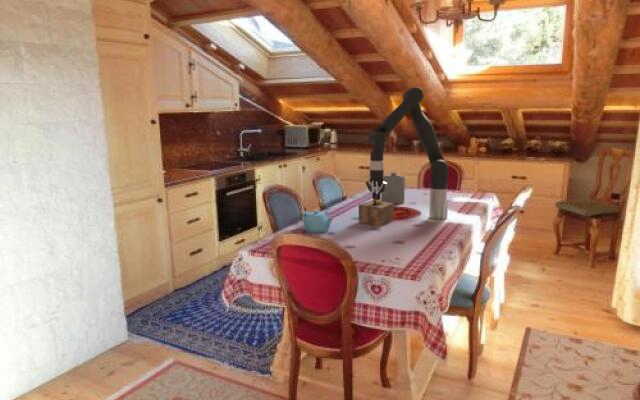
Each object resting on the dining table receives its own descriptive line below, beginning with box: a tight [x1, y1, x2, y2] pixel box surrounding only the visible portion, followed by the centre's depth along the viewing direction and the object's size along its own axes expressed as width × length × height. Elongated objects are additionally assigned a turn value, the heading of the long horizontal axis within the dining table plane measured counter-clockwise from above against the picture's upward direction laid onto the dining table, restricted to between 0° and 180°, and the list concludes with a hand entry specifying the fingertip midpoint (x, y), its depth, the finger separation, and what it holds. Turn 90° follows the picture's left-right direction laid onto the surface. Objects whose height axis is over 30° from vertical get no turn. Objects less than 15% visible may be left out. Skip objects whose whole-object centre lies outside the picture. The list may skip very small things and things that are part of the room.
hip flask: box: [380, 171, 406, 205], centre depth 314 cm, size 16×4×20 cm, turn 60°
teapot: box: [301, 209, 333, 234], centre depth 252 cm, size 15×15×11 cm
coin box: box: [358, 199, 395, 227], centre depth 267 cm, size 14×14×10 cm
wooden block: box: [372, 194, 382, 206], centre depth 266 cm, size 2×5×4 cm, turn 141°
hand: (376, 199), depth 265 cm, fingers closed on wooden block, 1 cm apart
